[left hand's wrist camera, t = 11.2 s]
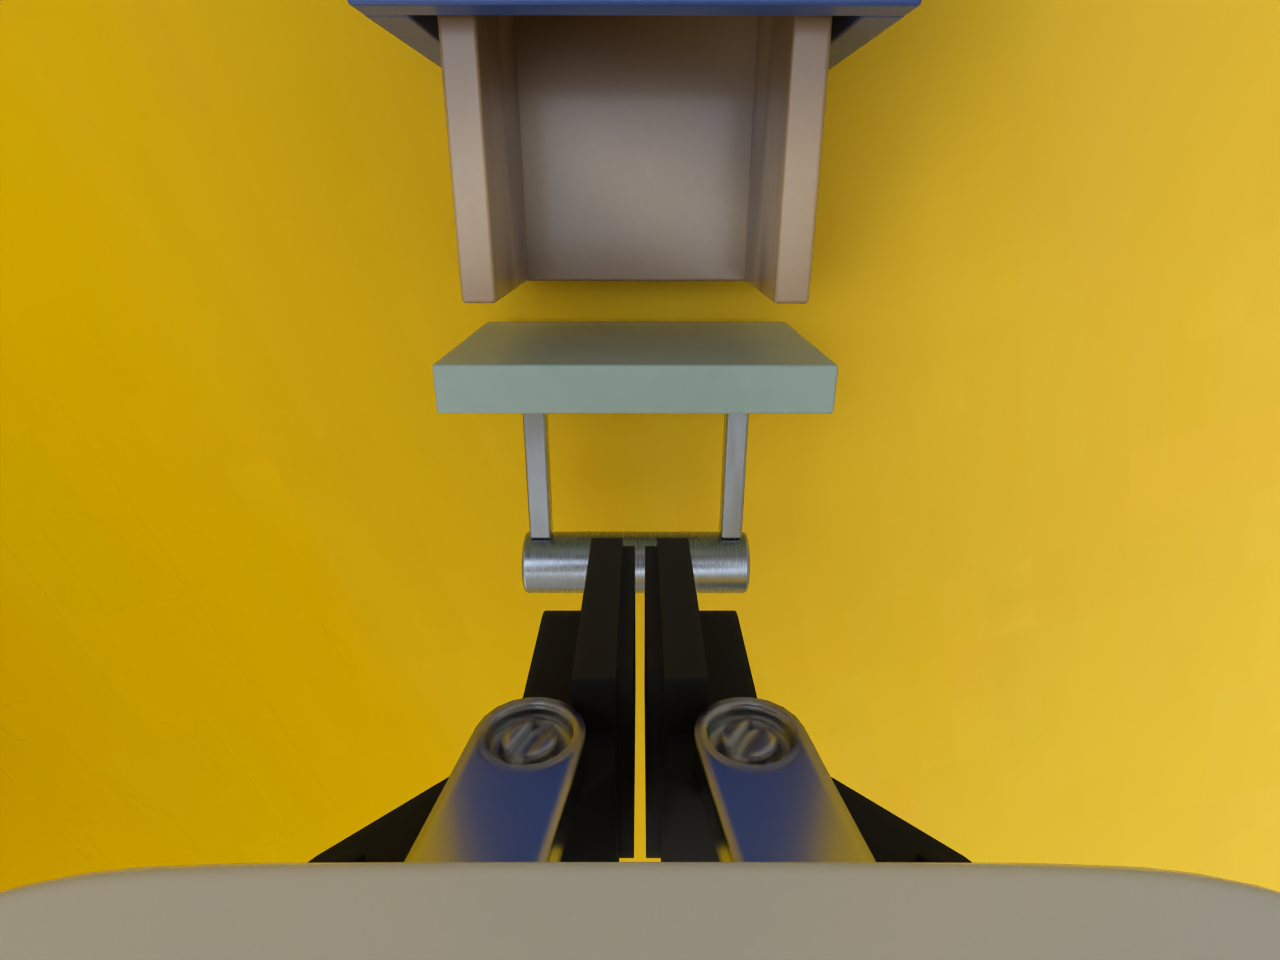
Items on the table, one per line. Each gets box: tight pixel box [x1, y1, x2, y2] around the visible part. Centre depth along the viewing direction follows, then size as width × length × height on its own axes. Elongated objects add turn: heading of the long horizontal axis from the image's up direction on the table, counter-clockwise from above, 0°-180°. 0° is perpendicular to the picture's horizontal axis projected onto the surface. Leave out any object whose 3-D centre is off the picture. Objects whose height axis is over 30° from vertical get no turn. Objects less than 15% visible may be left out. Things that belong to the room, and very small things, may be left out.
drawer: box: [433, 15, 838, 593], centre depth 19 cm, size 19×10×6 cm, turn 0°
